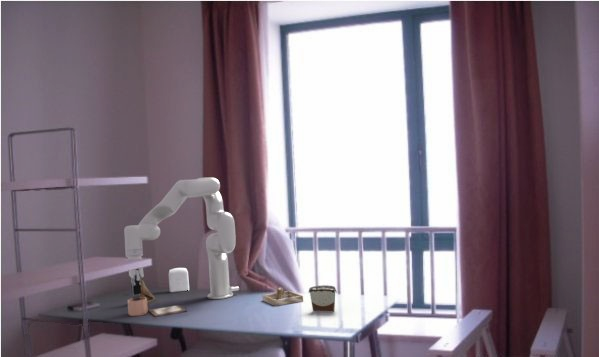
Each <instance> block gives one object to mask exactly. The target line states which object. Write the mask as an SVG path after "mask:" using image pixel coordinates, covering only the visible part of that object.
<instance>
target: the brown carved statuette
mask: <svg viewBox="0 0 599 357" xmlns="http://www.w3.org/2000/svg"><path fill="white" fill-rule="evenodd" d="M140 285H141V294H140V297H146V298H147V304H148V303H151V302H155V301H156V297H155V296H154V295H153V294H152V293H151V291H150V290H149V289H148V287H147V286H146V284H145V282H144V280H143V278H140Z"/></svg>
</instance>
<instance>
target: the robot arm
mask: <svg viewBox="0 0 599 357" xmlns="http://www.w3.org/2000/svg"><path fill="white" fill-rule="evenodd" d="M220 183H221V182H220V181H219V179H217V178H216V177H212V176H211V177H207V176H206V177H198V178H196V179H179V180H178V181H176V183H175V184H174V185H173V186H172V187H171V188H170V190H169V191H168V192H167V193H166V194H165V196H164V197H163V198H162V200H161V201H160V202H159V203H158V204H156V205H155V206H154V207H153V208H152V209H151V210H150V211H149V212H147V213H146V214H145V215H144V217H143V218H142V219H141V221H139V223H138V225H137V224H134V225H127V226H125V227H124V229H123V230H124V251H125V257H126V258H127V260H128V259H142V260H143V256H144V251H143V250H144V249H143V241H154V240H156V239H159V237H160V235H161V228H160V227H159V226H158V225H159V224H160V223H161V222H162V221H163V220H165V219H168V218H170V217H171V216H173V215H174V214H176V213H177V212H178V210H179V209H180V207H181V206H182V205H183V203H185V201H186V200H187V199H188V198H200V197H202V198H203V200H204V203H205V209H206V211H205V212H206V225H207V227H208V229H210V230H213V231H216V232H214V233H211V234H209V235H208V236H207V238H206V240H205V248H206V253H207V259H208V272H209V275H208V276H209V288H210V293H208V294H207V298H208V299H211V300H219V299H220V300H222V299H223V300H224V299H227V298H231V297H233V296H234V292H235V291H236V292H237V291H240V287H239V286H231V285H230V272H229V259H228V254H230V253H232V252H233V251H234V250H235V247H236V240H237V239H236V238H237V236H236V225H235V224H236V223H235V222H236V221H235V218H234V216H233V215H232V214H231V213H230V212H228V211H225V209H224V200H223V197H222V194H221V193H220V189H221V184H220ZM128 276H129V277H130V280H131V281H130V282H131V287H132V278H133V281H134V286H133V292H134V295H135V294H141V285H140V279H143V278H144V276H145V275H144V266H143V267H141V268H137V269H134V270H130V271H129V270H128ZM134 276H135V277H136V278H135V277H134ZM135 280H136V281H135ZM133 292H132V291H131V293H132V294H133Z"/></svg>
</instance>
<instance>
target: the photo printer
mask: <svg viewBox="0 0 599 357" xmlns="http://www.w3.org/2000/svg"><path fill="white" fill-rule="evenodd" d="M168 285H169V286H168V287H169V292H170V293H177V292H186V291H187V290H188V291H190V282H189V271H188V268H186V267H175V268H171V269H169V272H168ZM188 291H187V292H188Z"/></svg>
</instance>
